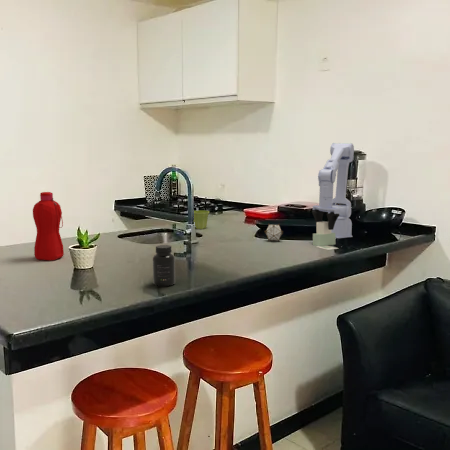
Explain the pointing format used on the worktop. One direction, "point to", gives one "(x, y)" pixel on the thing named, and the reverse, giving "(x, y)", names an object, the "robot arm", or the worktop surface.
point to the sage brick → (323, 239)
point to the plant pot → (201, 219)
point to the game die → (273, 232)
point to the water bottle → (47, 228)
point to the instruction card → (327, 247)
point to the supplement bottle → (163, 266)
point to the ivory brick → (322, 228)
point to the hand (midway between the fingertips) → (324, 228)
